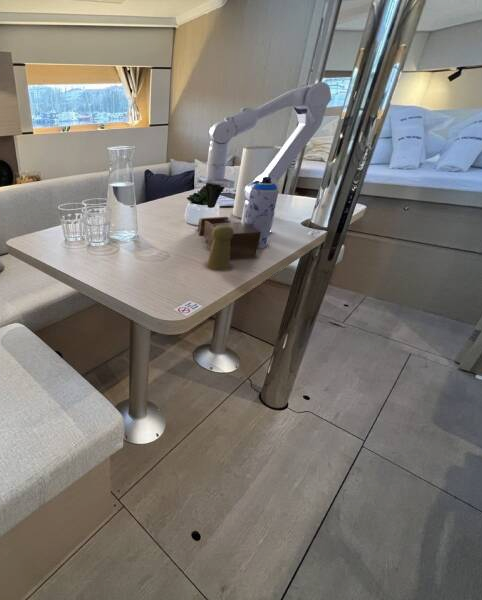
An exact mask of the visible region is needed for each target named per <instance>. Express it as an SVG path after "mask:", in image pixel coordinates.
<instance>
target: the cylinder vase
mask: <svg viewBox="0 0 482 600" xmlns="http://www.w3.org/2000/svg"><path fill="white" fill-rule="evenodd" d="M281 148H282V147H281V146H275V145H257V146H256V145H255V146H254V145H253V146H244V147H243V148H242V155H241V160H240V161H241V162H240V166H239V172H238V179H237V185H236V190H235V197H234V202H233V207H232V209H233V210H232V215H233V216H234V217H236V218H239V219H242V214H243V209H244V203H245V201H246V199H245V198H244V190H245V188H246V187H247V186H248V185H249V184H251V183H252V182H253V181H254V180H255V179H256V178H257V177H258V176H260V175H261V174H263V173H264V171H265V170H266V169H267V167H268V166H269V164H270V163H271V162H272V160H273V159H274V158H275V156H276V155H277V154H278V152H279V151H280V150H281Z"/></svg>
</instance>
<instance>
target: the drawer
mask: <svg viewBox="0 0 482 600" xmlns="http://www.w3.org/2000/svg"><path fill="white" fill-rule="evenodd" d="M230 222H232V220H230V219H229V217H228V216H214V217H200V218H198V224H199V223H200V227H199V230H198V236H199V237H203V238H204V239H206V240H207V241H208V236H209V229H210V224H216V223H230Z"/></svg>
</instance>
